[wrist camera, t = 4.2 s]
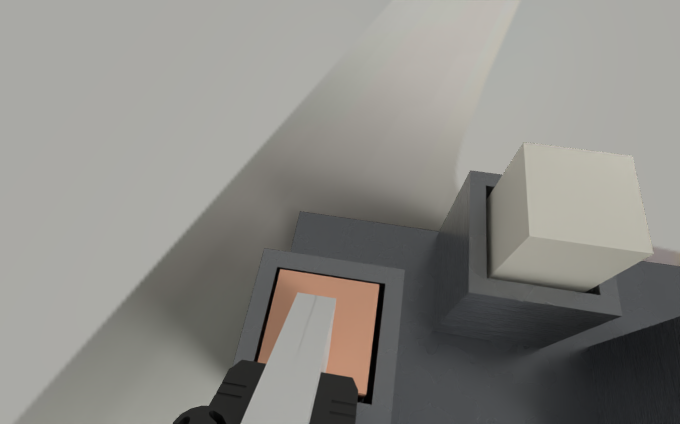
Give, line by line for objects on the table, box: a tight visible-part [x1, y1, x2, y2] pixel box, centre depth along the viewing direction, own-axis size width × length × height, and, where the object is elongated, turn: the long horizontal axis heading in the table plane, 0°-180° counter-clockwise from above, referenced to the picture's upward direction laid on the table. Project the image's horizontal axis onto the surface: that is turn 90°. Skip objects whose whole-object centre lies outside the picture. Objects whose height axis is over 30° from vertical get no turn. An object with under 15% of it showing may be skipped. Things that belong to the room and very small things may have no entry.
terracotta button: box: [258, 269, 379, 403], centre depth 21 cm, size 4×4×8 cm
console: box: [232, 171, 680, 424], centre depth 22 cm, size 26×13×10 cm, turn 81°
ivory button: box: [486, 142, 654, 293], centre depth 20 cm, size 4×4×8 cm
